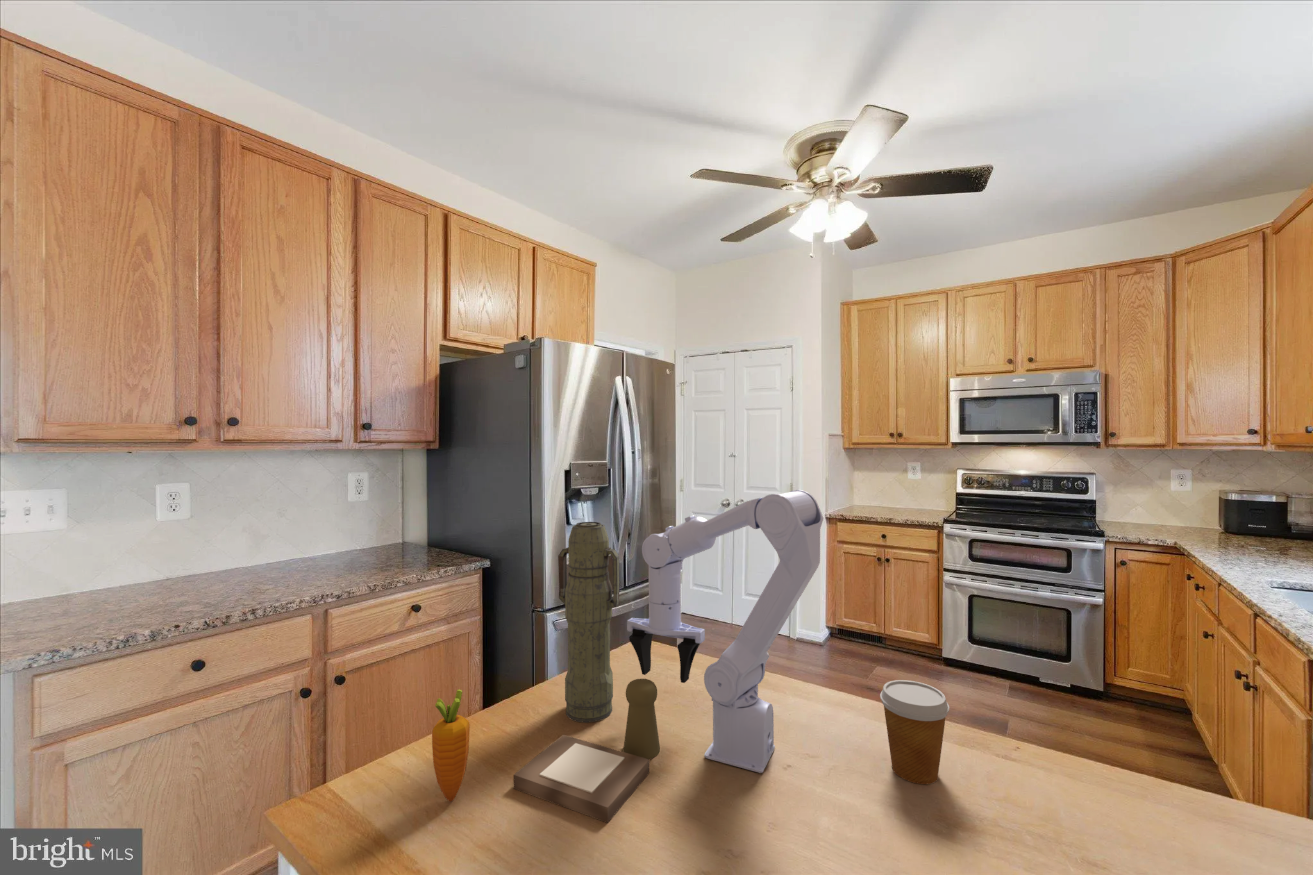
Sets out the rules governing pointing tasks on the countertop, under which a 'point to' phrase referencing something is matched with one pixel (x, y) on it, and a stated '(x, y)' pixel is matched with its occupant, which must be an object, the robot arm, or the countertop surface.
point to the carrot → (450, 747)
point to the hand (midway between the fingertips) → (665, 676)
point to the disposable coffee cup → (914, 728)
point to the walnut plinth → (583, 777)
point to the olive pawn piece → (641, 720)
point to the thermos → (588, 620)
